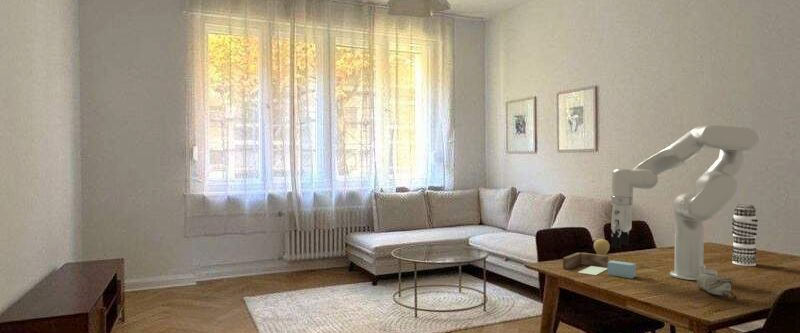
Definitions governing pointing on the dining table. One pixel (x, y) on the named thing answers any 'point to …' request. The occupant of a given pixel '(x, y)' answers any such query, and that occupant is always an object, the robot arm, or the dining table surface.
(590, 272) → the pad
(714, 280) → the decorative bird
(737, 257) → the decorative candle
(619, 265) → the block
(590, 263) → the wall side
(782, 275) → the dining table surface
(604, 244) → the light bulb
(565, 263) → the wall far
